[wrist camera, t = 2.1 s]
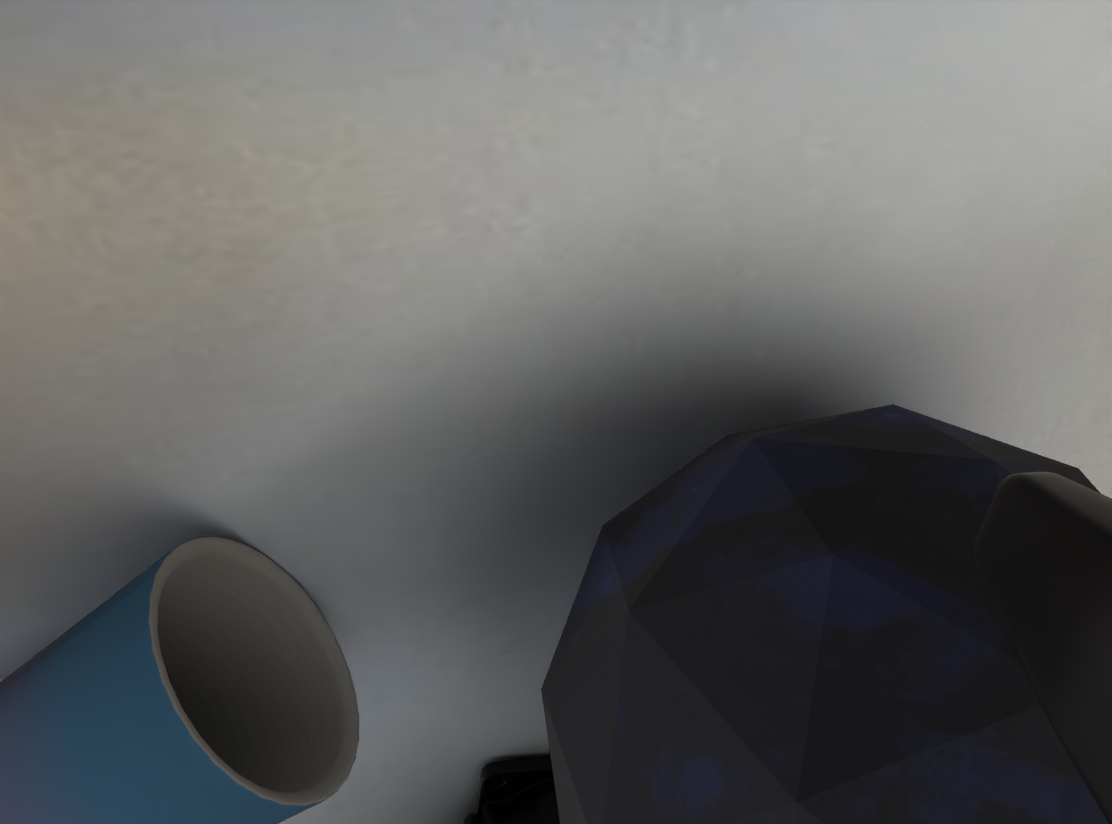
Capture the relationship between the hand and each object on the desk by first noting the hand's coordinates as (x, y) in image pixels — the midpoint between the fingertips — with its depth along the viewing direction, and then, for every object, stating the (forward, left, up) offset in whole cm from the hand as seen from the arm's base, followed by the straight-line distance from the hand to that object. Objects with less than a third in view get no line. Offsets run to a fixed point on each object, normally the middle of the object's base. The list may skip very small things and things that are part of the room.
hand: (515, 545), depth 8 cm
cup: (+14, +22, -11) cm, 29 cm away
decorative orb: (-11, +11, -14) cm, 21 cm away
